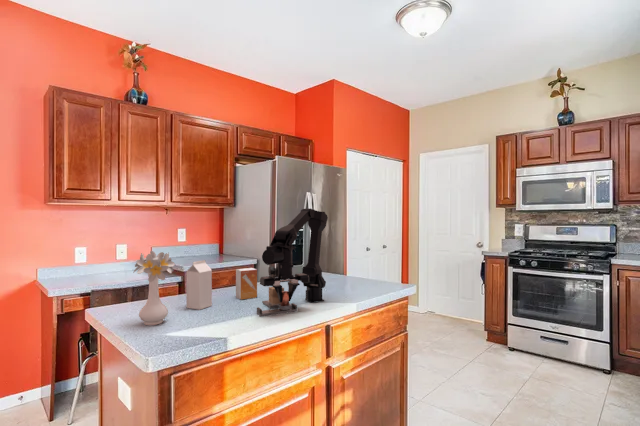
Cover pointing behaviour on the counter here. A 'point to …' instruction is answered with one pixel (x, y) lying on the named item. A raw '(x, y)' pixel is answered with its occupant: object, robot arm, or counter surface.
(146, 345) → the counter surface
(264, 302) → the plate
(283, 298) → the handle
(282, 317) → the counter surface
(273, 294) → the block
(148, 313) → the flower vase
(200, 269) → the milk carton
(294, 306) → the rail
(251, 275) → the small box
